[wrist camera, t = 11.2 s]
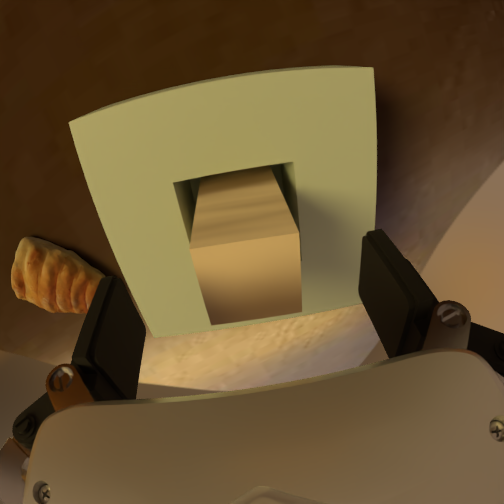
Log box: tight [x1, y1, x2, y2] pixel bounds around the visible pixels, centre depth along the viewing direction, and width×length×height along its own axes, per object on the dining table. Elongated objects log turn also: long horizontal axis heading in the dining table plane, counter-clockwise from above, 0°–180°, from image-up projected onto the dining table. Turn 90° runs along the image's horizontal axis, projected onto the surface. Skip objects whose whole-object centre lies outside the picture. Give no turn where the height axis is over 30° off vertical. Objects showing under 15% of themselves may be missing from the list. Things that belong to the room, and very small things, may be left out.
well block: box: [69, 66, 377, 338], centre depth 19 cm, size 15×15×6 cm
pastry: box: [11, 237, 105, 313], centre depth 23 cm, size 9×7×4 cm
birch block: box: [189, 165, 302, 326], centre depth 17 cm, size 4×4×10 cm
